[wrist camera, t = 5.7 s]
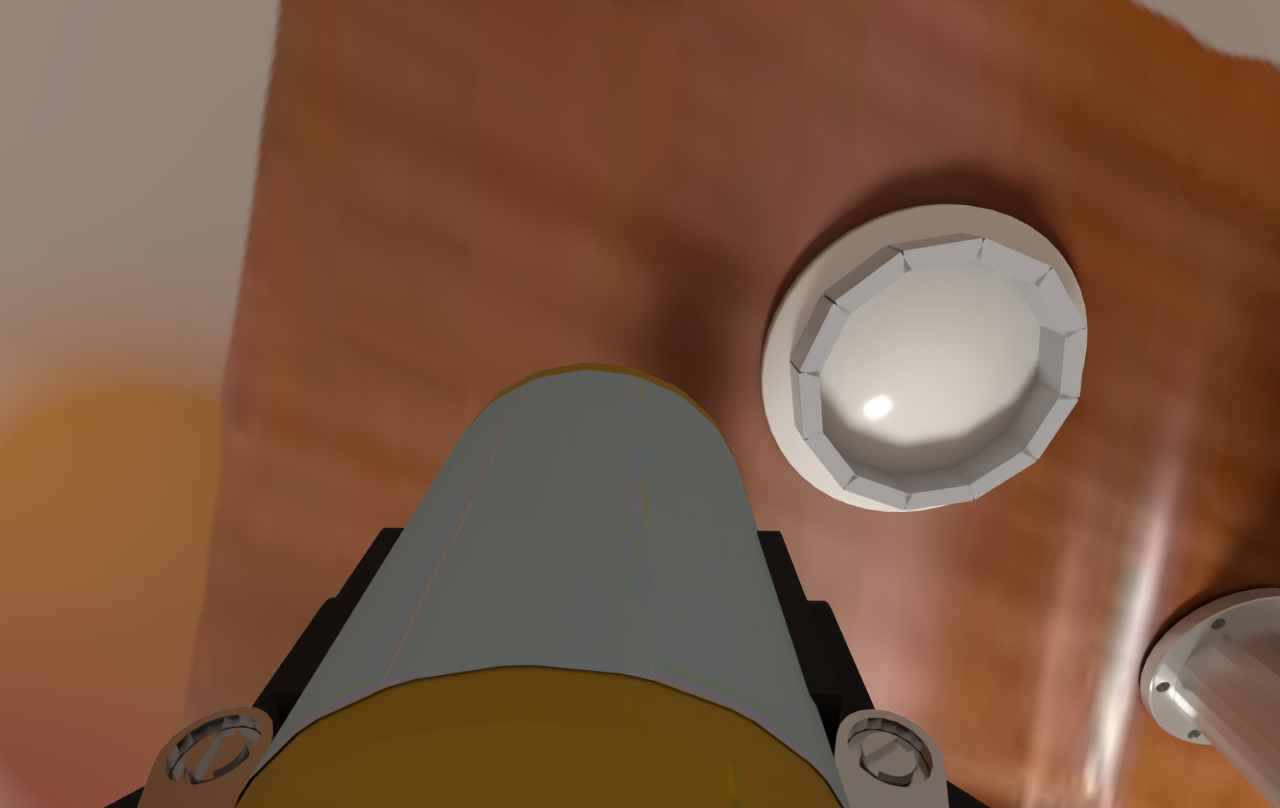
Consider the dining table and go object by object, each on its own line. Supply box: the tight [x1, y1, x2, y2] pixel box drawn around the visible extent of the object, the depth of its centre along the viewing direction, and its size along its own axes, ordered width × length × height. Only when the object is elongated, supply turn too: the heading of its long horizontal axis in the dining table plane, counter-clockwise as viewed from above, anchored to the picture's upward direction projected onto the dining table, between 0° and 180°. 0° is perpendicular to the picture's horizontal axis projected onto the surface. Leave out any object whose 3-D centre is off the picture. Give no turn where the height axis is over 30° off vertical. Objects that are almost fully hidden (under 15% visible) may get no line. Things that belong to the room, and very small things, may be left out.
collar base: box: [760, 203, 1087, 512], centre depth 33 cm, size 17×17×3 cm
